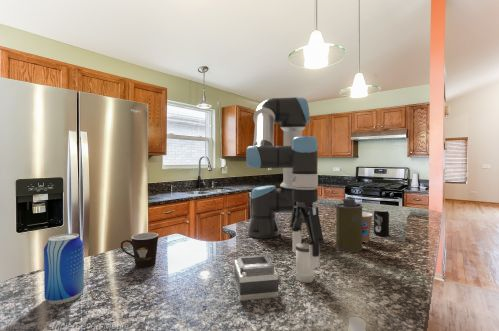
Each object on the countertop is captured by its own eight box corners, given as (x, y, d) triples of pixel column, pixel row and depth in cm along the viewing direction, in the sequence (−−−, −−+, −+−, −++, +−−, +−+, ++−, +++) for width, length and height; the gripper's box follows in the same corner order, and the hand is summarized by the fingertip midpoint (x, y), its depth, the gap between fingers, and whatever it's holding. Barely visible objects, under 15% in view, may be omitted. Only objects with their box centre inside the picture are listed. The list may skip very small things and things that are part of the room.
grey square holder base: (234, 279, 80) (234, 255, 80) (267, 277, 82) (267, 253, 82) (240, 300, 68) (240, 271, 68) (278, 296, 70) (278, 268, 70)
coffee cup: (347, 242, 116) (347, 214, 116) (348, 236, 126) (348, 210, 126) (373, 245, 112) (373, 216, 112) (372, 238, 122) (372, 212, 122)
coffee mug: (163, 261, 94) (163, 233, 94) (147, 271, 86) (146, 240, 86) (137, 258, 98) (137, 231, 98) (118, 266, 90) (118, 237, 90)
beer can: (58, 290, 74) (57, 232, 74) (89, 289, 74) (89, 232, 74) (36, 307, 65) (35, 242, 65) (72, 305, 66) (71, 241, 66)
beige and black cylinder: (293, 275, 83) (293, 243, 83) (309, 274, 84) (309, 242, 84) (299, 283, 78) (299, 249, 77) (316, 281, 79) (316, 248, 78)
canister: (349, 253, 102) (350, 201, 102) (330, 245, 112) (330, 198, 111) (369, 249, 107) (369, 199, 107) (348, 242, 117) (348, 196, 116)
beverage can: (390, 237, 124) (390, 211, 124) (375, 236, 125) (375, 211, 125) (386, 233, 130) (386, 208, 130) (372, 232, 132) (372, 208, 131)
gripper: (280, 185, 92) (280, 246, 92) (309, 192, 67) (309, 276, 67) (301, 184, 93) (301, 245, 93) (337, 192, 69) (337, 274, 69)
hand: (304, 258), depth 80 cm, fingers open, 13 cm apart
